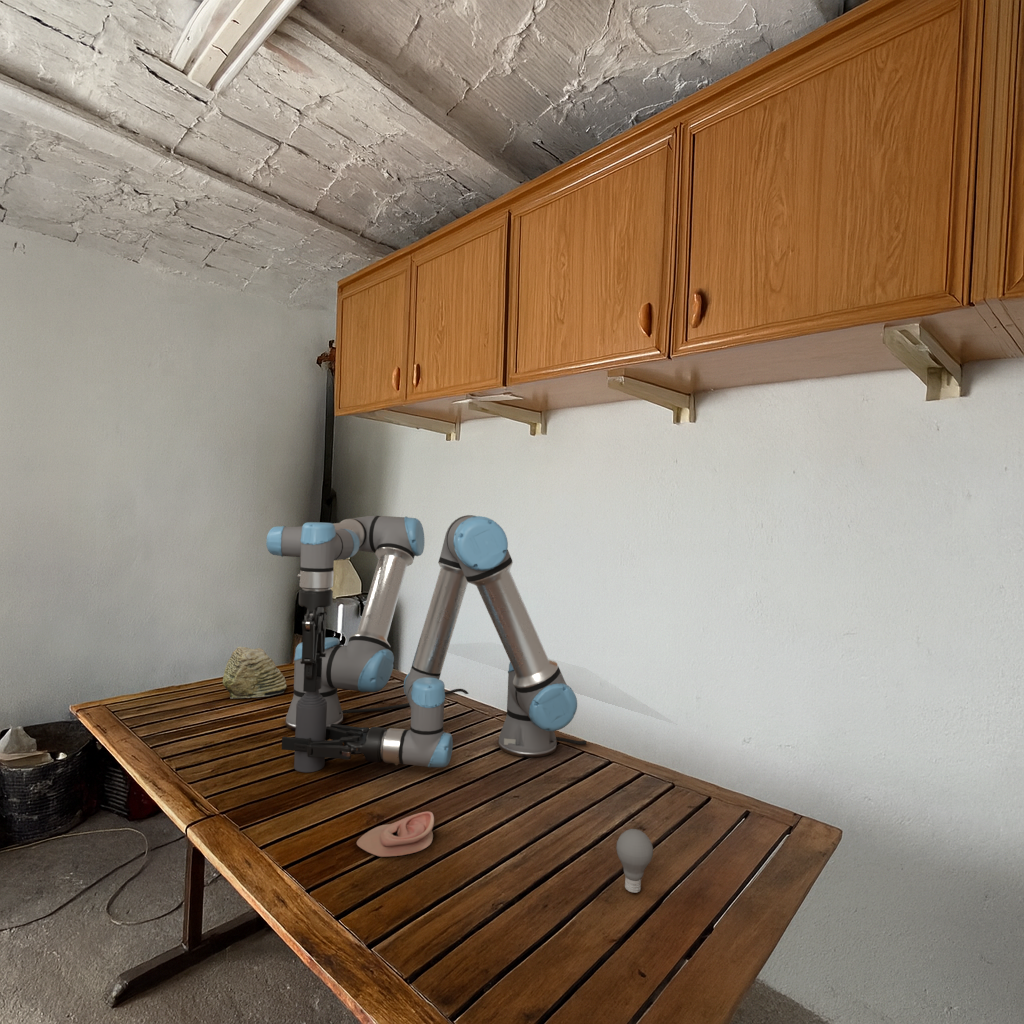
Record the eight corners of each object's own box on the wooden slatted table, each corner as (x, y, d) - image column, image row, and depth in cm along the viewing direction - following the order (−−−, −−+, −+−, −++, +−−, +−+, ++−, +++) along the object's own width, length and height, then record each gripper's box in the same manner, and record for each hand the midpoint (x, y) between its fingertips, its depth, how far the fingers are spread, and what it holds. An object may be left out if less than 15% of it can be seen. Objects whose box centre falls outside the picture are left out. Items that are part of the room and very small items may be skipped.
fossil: (218, 695, 195) (220, 647, 195) (278, 685, 208) (279, 640, 207) (228, 703, 189) (230, 653, 188) (289, 692, 201) (290, 645, 201)
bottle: (319, 773, 145) (322, 686, 145) (289, 771, 145) (292, 684, 145) (328, 760, 152) (331, 677, 151) (299, 759, 152) (303, 676, 151)
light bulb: (610, 879, 108) (613, 822, 108) (644, 879, 109) (647, 822, 109) (619, 902, 102) (622, 840, 102) (655, 901, 103) (658, 840, 103)
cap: (301, 686, 149) (301, 677, 149) (318, 684, 151) (318, 675, 151) (306, 691, 145) (306, 681, 145) (323, 689, 148) (324, 679, 147)
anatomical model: (349, 829, 113) (376, 800, 125) (348, 851, 113) (375, 820, 125) (420, 841, 111) (440, 810, 122) (419, 863, 111) (439, 830, 122)
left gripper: (309, 583, 156) (306, 677, 156) (288, 593, 139) (284, 699, 139) (340, 584, 156) (336, 678, 157) (323, 594, 139) (319, 700, 140)
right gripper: (370, 779, 137) (268, 770, 139) (396, 745, 156) (307, 737, 159) (371, 745, 136) (270, 736, 139) (397, 714, 156) (308, 707, 159)
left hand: (312, 688), depth 148 cm, fingers closed on cap, 4 cm apart
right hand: (290, 737), depth 149 cm, fingers closed on bottle, 7 cm apart
